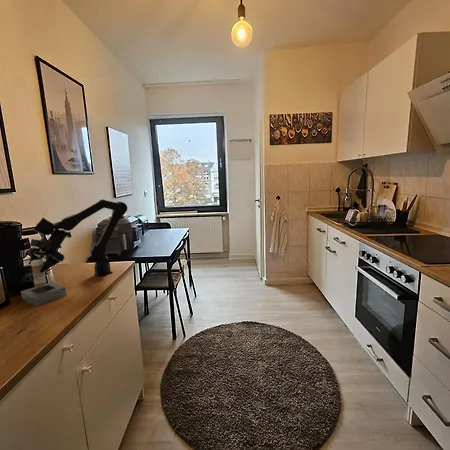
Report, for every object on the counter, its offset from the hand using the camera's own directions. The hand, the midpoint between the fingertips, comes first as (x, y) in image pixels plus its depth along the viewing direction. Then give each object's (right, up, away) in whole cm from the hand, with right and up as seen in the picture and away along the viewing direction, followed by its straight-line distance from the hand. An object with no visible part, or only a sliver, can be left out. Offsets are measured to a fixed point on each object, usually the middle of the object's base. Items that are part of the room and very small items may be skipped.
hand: (34, 271), depth 125 cm
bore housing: (+8, -10, -6) cm, 14 cm away
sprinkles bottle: (+1, -9, +3) cm, 9 cm away
